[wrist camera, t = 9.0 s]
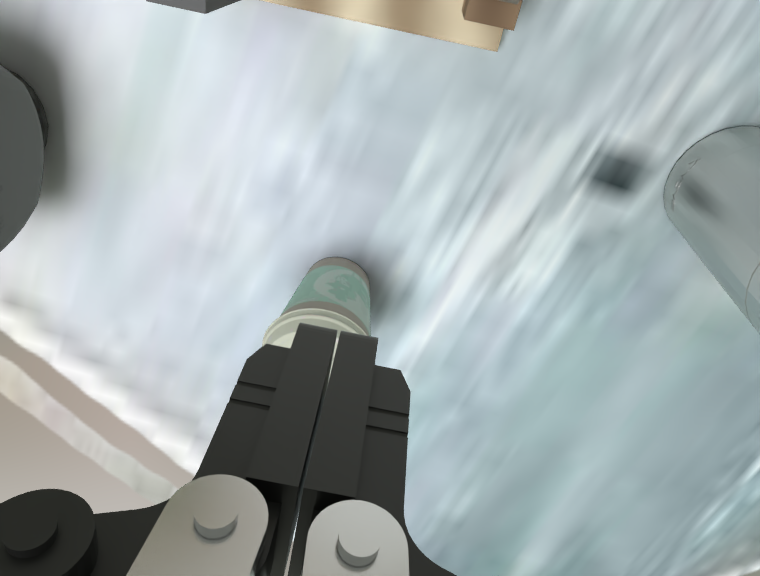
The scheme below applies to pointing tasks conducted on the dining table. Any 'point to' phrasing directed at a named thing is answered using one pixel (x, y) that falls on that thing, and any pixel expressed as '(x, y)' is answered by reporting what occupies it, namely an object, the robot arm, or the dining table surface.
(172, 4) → the collar
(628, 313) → the dining table surface
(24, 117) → the dark grey bottle
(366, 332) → the coffee cup
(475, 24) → the pipe rig
